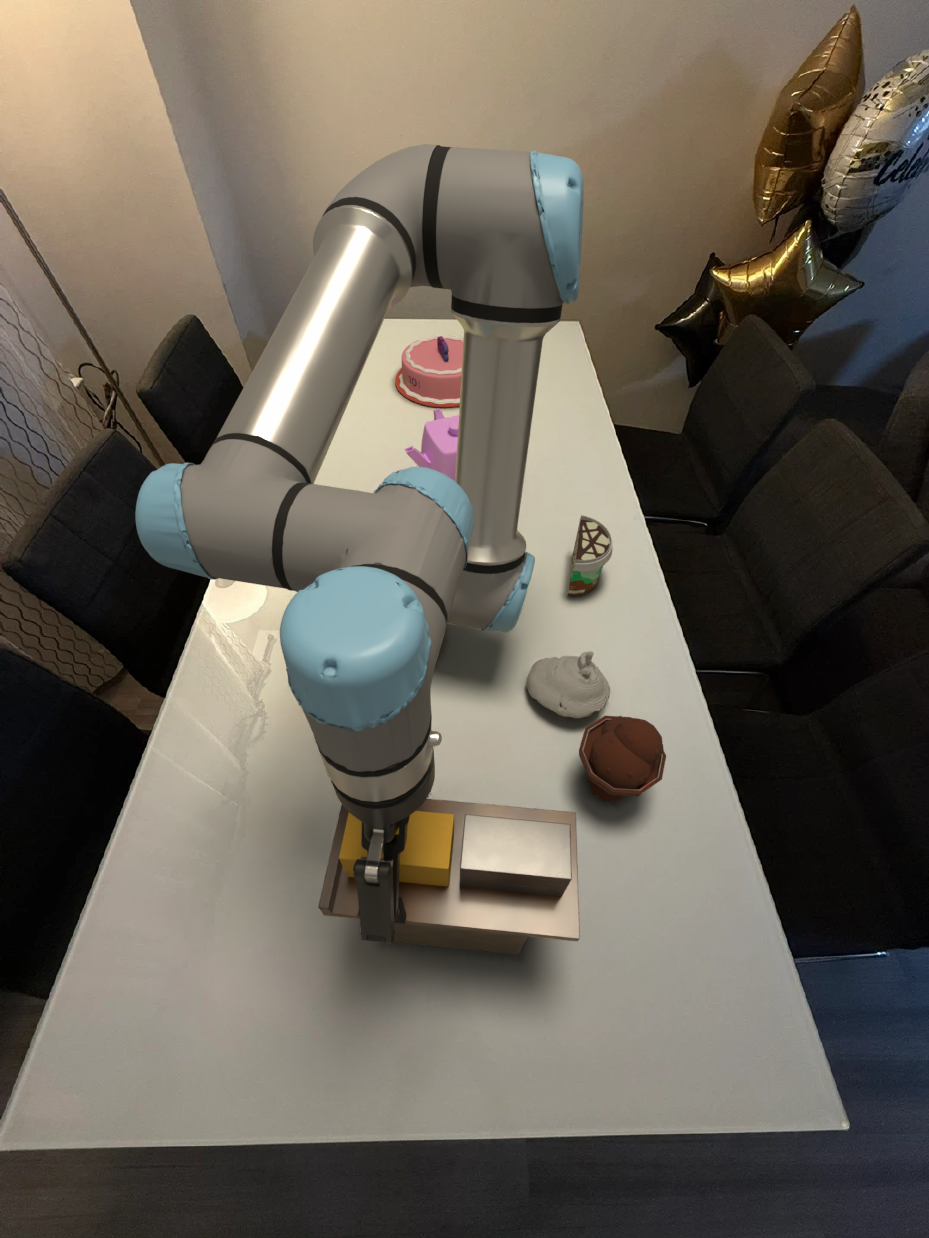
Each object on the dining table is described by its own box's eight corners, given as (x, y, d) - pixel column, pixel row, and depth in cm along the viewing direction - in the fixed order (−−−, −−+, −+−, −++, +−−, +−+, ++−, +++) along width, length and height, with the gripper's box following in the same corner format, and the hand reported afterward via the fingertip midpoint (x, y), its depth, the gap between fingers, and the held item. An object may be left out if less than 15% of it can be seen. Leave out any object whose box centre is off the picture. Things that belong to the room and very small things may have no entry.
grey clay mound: (573, 666, 97) (601, 623, 90) (609, 725, 90) (642, 684, 83) (512, 675, 92) (537, 630, 84) (545, 739, 85) (575, 696, 78)
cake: (385, 364, 154) (381, 323, 145) (475, 352, 159) (476, 311, 150) (408, 415, 139) (405, 372, 130) (506, 399, 144) (509, 357, 135)
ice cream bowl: (592, 733, 86) (614, 678, 75) (660, 779, 82) (695, 728, 70) (553, 786, 81) (570, 736, 69) (623, 837, 77) (653, 793, 65)
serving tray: (347, 946, 68) (309, 896, 50) (367, 842, 76) (340, 767, 58) (554, 968, 67) (592, 925, 49) (553, 861, 75) (585, 789, 57)
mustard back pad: (347, 876, 57) (338, 858, 52) (358, 826, 60) (350, 804, 55) (449, 886, 57) (448, 869, 52) (454, 835, 60) (454, 813, 55)
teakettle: (478, 509, 118) (480, 457, 108) (402, 487, 122) (398, 436, 112) (506, 462, 128) (510, 411, 118) (436, 444, 132) (434, 393, 122)
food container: (601, 607, 102) (613, 568, 94) (566, 601, 103) (575, 562, 95) (604, 558, 109) (616, 518, 102) (572, 553, 110) (581, 513, 102)
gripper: (408, 950, 33) (423, 996, 50) (451, 624, 48) (451, 745, 65) (278, 937, 33) (337, 987, 50) (361, 617, 48) (385, 739, 65)
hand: (401, 851), depth 58 cm, fingers open, 11 cm apart
